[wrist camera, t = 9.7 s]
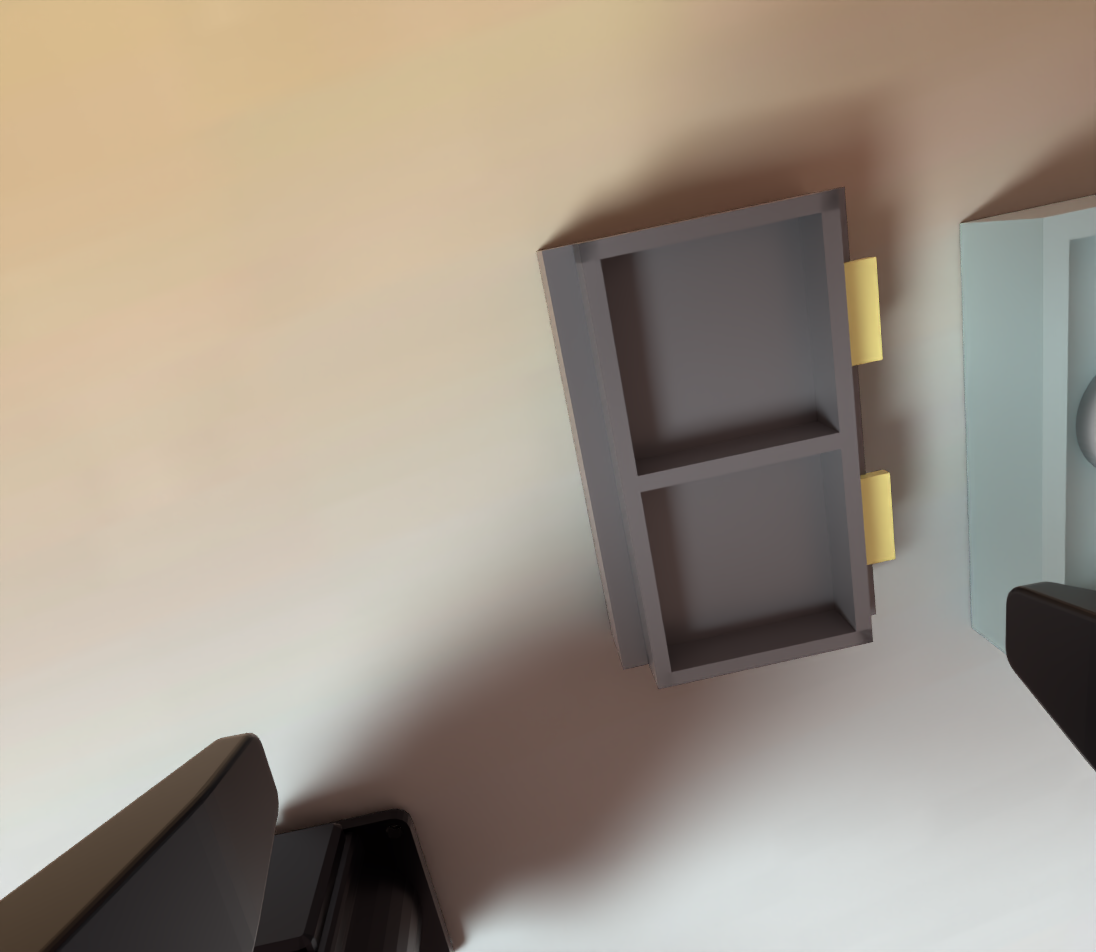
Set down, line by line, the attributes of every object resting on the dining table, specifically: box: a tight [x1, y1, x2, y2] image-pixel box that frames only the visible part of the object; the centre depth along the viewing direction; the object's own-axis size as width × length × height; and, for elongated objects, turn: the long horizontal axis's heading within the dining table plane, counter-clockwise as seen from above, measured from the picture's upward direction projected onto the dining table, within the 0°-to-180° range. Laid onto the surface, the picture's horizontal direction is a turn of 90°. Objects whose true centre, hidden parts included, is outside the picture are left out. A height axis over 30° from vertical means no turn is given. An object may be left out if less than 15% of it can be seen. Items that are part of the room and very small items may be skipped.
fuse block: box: [536, 187, 895, 689], centre depth 19 cm, size 11×8×3 cm
